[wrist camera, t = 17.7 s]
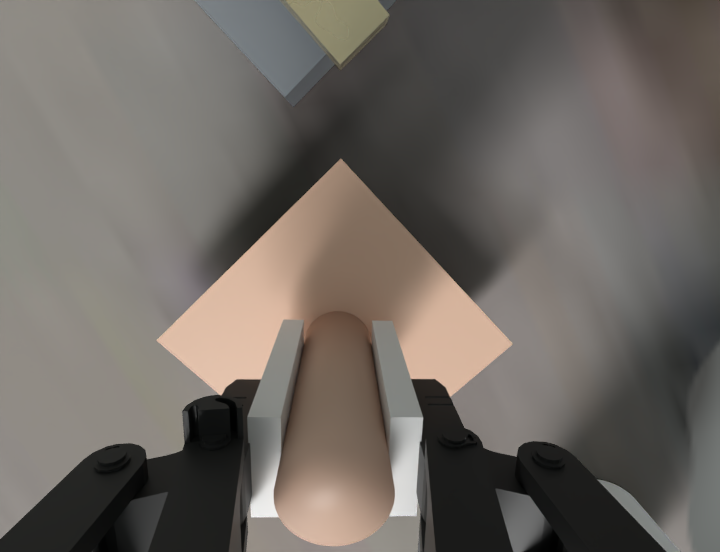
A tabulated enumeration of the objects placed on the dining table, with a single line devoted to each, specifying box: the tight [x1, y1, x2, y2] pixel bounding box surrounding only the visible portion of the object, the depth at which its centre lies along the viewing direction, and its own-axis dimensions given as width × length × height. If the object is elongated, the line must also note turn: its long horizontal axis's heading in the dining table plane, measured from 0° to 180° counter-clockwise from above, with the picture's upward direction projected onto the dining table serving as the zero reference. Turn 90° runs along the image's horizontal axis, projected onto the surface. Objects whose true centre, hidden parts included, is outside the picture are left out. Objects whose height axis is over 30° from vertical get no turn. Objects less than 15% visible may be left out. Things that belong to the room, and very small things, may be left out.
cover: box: [157, 159, 512, 546], centre depth 14 cm, size 10×10×10 cm
